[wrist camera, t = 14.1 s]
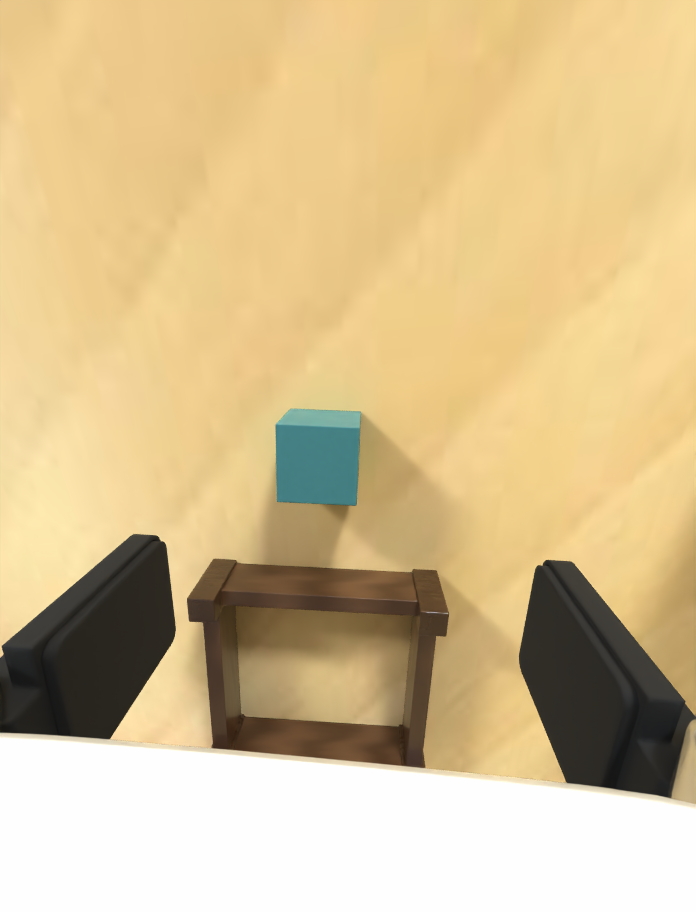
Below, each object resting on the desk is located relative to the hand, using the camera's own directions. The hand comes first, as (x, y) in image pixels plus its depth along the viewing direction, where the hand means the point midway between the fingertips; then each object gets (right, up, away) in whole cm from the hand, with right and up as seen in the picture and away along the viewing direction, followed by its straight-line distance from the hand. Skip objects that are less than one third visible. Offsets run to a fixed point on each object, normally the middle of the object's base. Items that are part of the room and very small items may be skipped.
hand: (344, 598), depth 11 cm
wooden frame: (-2, -13, +24) cm, 27 cm away
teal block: (-2, +4, +18) cm, 19 cm away
